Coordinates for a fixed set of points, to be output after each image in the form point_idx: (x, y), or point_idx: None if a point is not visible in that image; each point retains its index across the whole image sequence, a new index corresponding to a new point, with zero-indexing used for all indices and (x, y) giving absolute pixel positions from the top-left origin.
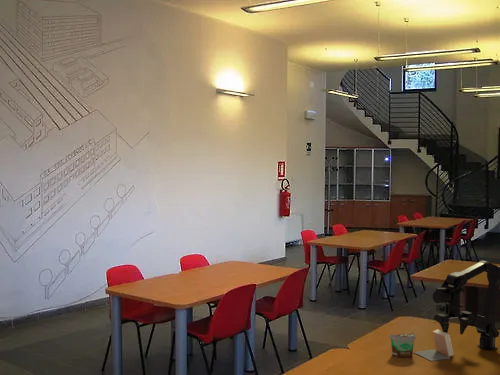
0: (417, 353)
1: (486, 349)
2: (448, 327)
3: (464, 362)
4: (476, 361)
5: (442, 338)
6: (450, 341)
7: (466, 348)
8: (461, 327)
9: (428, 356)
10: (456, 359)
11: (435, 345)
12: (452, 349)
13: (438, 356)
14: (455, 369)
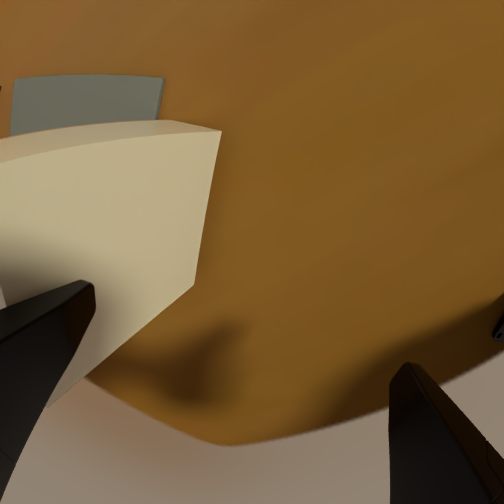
0: (14, 112)
1: (495, 331)
2: (19, 452)
3: (169, 362)
4: (248, 391)
5: None
6: (104, 352)
7: (463, 235)
8: (429, 461)
9: None
10: (163, 317)
11: (123, 122)
12: (164, 306)
13: None
14: None
